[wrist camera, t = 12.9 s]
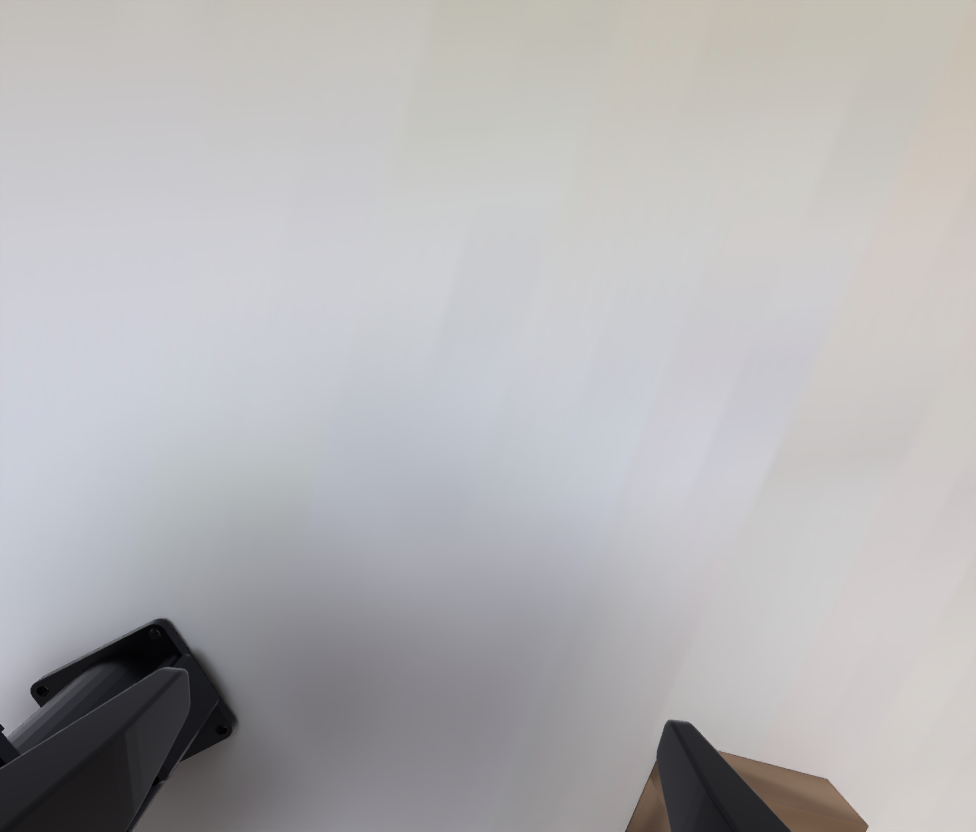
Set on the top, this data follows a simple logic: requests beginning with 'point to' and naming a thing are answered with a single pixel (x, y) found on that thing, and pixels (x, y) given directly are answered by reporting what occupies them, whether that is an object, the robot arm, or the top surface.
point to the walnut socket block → (765, 800)
